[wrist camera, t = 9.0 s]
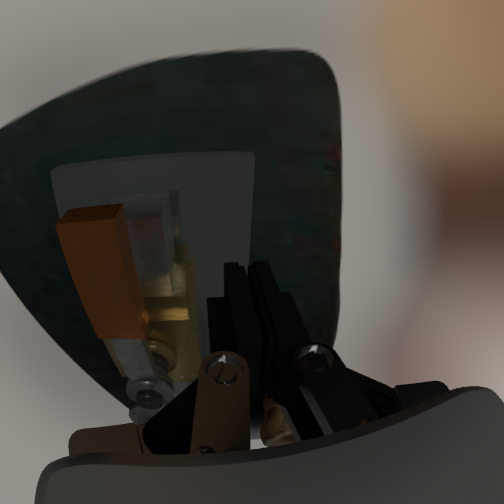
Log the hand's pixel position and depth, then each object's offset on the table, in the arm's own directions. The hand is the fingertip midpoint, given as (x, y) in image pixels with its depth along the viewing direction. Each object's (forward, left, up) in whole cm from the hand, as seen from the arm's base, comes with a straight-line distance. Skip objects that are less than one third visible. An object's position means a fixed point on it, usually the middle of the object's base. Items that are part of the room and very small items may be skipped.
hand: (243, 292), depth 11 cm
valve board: (-9, +6, -13) cm, 17 cm away
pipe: (-34, -9, -13) cm, 38 cm away
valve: (-9, +6, -11) cm, 16 cm away
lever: (-4, +6, -2) cm, 7 cm away
